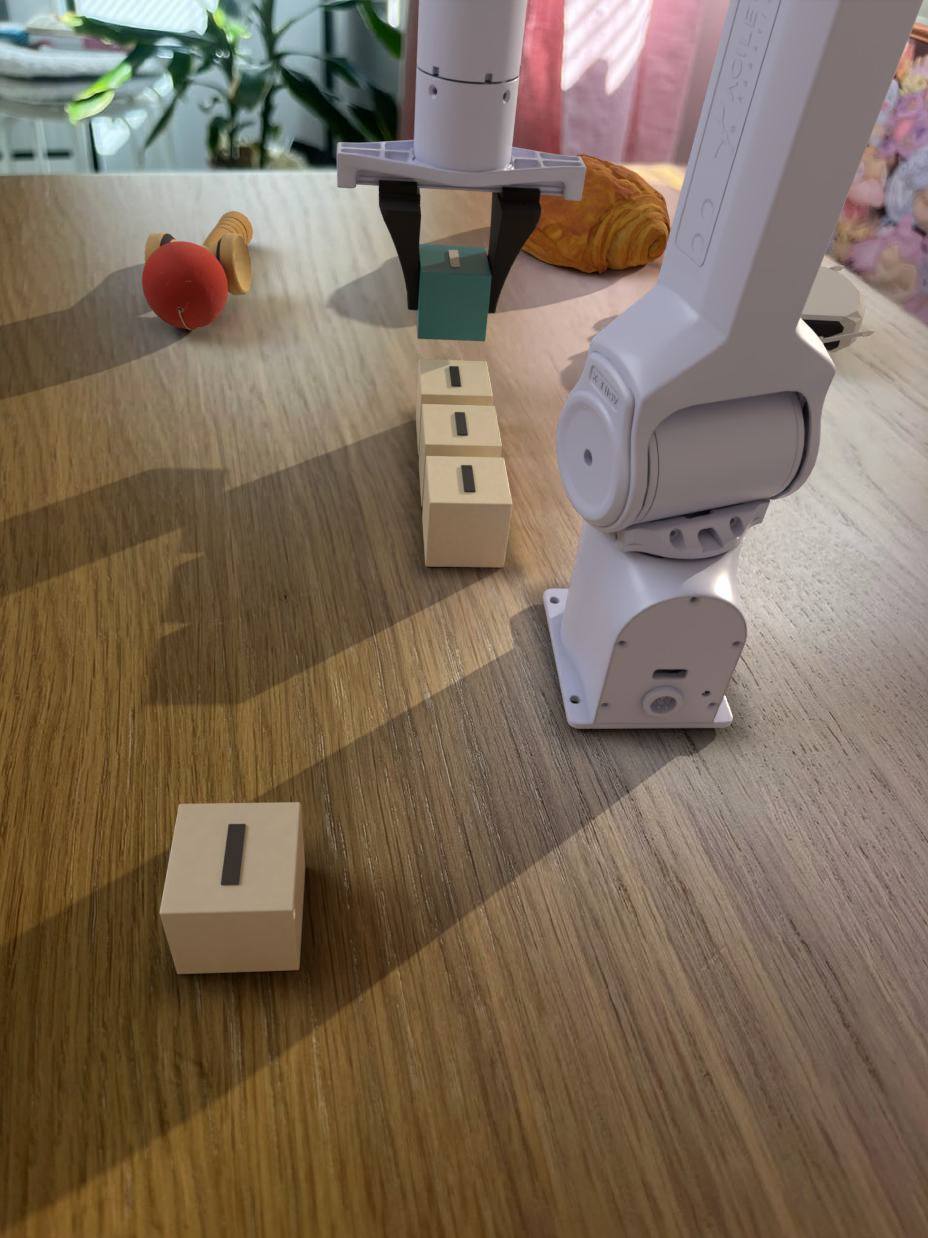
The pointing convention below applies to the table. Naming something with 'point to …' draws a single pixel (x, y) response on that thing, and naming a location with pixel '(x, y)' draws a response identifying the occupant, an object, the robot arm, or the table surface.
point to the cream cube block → (451, 385)
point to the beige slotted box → (235, 888)
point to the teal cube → (453, 292)
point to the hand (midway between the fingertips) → (451, 304)
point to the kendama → (197, 272)
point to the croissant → (602, 222)
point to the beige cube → (465, 511)
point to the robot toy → (835, 309)
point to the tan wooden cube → (457, 433)
